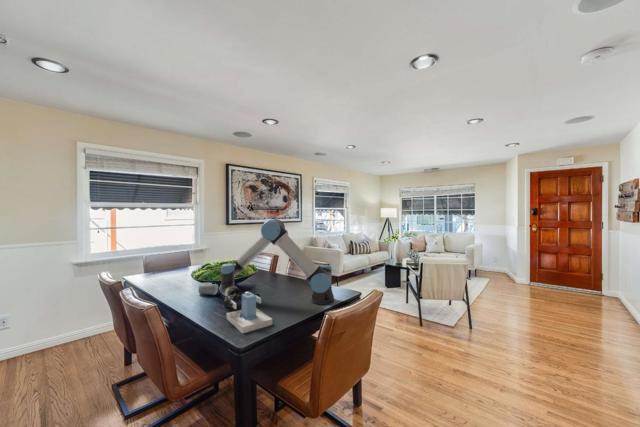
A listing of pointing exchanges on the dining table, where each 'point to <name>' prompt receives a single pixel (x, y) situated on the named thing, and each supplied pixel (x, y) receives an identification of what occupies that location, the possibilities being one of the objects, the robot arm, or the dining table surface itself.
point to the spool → (208, 288)
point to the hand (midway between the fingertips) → (248, 303)
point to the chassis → (249, 321)
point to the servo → (248, 306)
